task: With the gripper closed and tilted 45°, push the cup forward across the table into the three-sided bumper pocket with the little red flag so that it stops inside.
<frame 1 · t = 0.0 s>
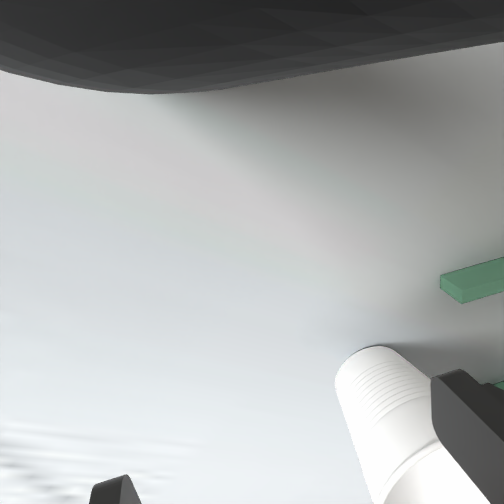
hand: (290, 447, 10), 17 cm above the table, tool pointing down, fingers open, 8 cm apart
cup: (365, 371, 34), on the table
putting pocket: (486, 335, 35), on the table
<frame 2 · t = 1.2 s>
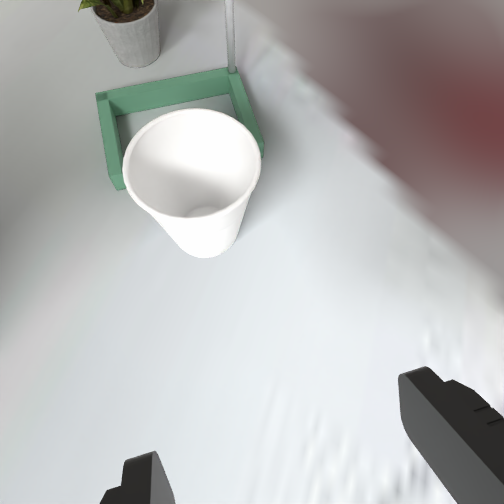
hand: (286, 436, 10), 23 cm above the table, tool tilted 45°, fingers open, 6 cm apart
house plant: (147, 48, 48), on the table
cup: (206, 231, 38), on the table
putting pocket: (182, 138, 43), on the table
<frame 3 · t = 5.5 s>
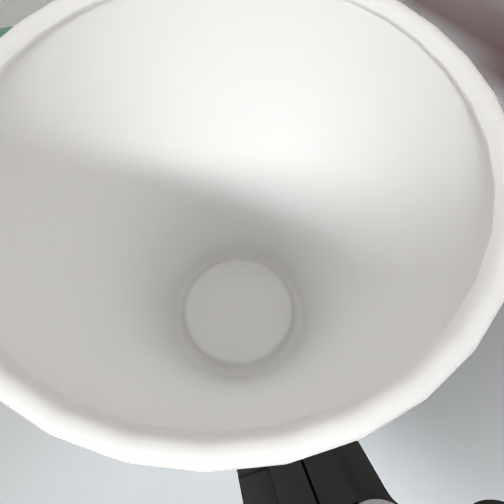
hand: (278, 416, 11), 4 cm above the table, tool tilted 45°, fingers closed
cup: (239, 312, 17), on the table, touching gripper
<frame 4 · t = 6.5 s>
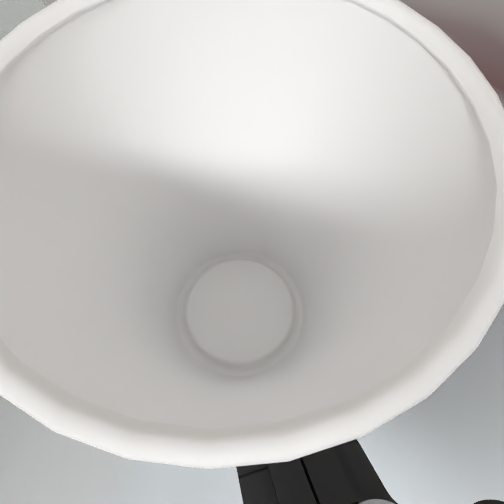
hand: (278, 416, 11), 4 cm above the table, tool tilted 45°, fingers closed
cup: (240, 312, 17), on the table, touching gripper
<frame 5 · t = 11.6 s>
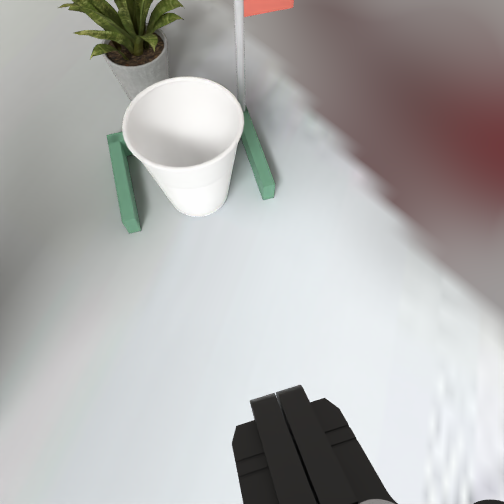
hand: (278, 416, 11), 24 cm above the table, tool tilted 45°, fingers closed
house plant: (156, 84, 49), on the table
cup: (199, 194, 42), on the table
putting pocket: (193, 178, 43), on the table
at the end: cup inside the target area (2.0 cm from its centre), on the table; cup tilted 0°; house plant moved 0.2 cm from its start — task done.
